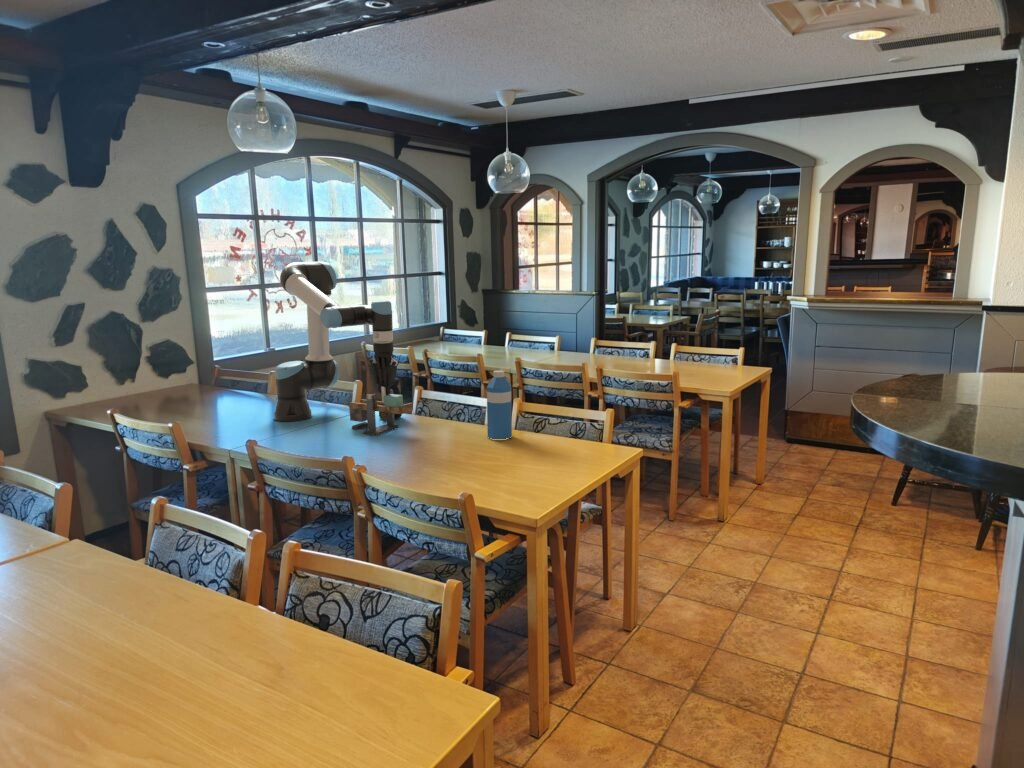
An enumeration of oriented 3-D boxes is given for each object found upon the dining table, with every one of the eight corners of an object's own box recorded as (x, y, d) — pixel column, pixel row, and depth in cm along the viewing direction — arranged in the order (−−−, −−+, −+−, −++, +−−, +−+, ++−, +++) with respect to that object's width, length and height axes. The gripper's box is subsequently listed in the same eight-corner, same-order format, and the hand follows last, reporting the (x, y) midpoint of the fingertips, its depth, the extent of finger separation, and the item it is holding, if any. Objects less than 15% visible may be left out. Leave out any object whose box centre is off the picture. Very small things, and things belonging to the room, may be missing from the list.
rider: (384, 408, 259) (383, 395, 259) (391, 406, 263) (390, 393, 262) (396, 410, 256) (395, 397, 256) (403, 407, 260) (402, 395, 259)
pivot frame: (363, 433, 260) (361, 394, 257) (387, 425, 272) (385, 388, 269) (375, 435, 257) (373, 396, 254) (399, 427, 269) (397, 389, 266)
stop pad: (352, 428, 268) (351, 425, 268) (364, 424, 274) (364, 422, 274) (357, 429, 266) (357, 426, 266) (369, 425, 272) (369, 422, 272)
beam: (348, 420, 267) (346, 391, 265) (364, 416, 274) (362, 387, 272) (400, 427, 254) (398, 397, 252) (415, 422, 261) (413, 393, 259)
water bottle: (482, 439, 251) (481, 372, 246) (494, 433, 259) (493, 368, 254) (504, 441, 247) (503, 374, 242) (516, 435, 255) (516, 370, 250)
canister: (399, 421, 279) (397, 378, 276) (376, 421, 279) (374, 378, 276) (403, 415, 289) (402, 374, 285) (381, 415, 289) (379, 374, 285)
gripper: (363, 342, 257) (366, 402, 261) (389, 344, 250) (392, 406, 255) (376, 339, 263) (379, 399, 268) (402, 341, 257) (405, 402, 261)
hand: (385, 402), depth 261 cm, fingers closed
